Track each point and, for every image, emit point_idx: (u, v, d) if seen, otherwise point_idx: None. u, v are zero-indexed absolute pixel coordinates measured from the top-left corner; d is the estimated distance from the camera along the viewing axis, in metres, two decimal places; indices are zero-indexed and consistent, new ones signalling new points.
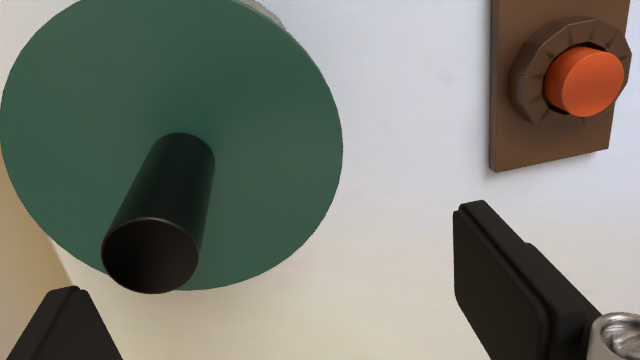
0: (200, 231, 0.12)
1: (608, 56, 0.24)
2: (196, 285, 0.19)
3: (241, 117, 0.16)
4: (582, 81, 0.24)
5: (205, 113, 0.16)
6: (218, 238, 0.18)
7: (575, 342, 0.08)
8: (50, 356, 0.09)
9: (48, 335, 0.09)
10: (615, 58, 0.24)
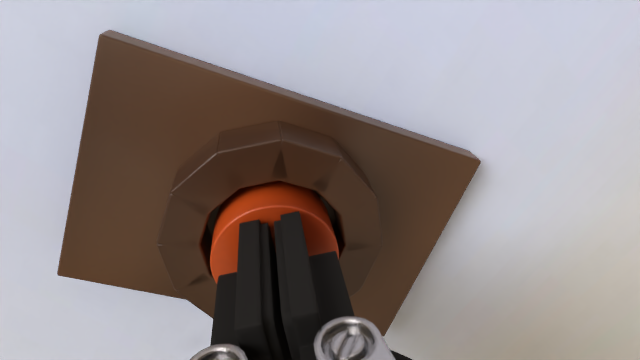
0: None
1: (231, 229, 0.12)
2: None
3: None
4: None
5: None
6: None
7: None
8: (270, 269, 0.10)
9: (260, 254, 0.10)
10: (242, 217, 0.12)
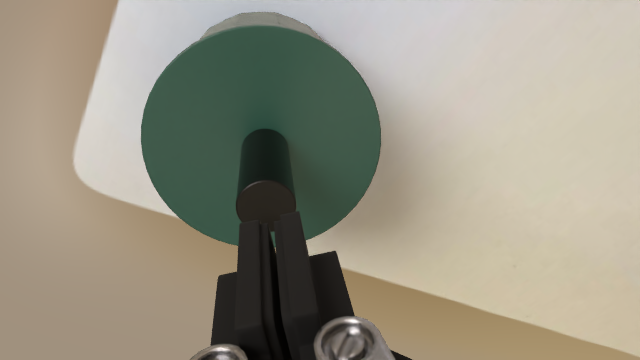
0: (276, 173, 0.18)
1: None
2: (355, 199, 0.25)
3: (258, 96, 0.22)
4: None
5: (242, 116, 0.22)
6: (331, 164, 0.24)
7: None
8: (270, 269, 0.10)
9: (260, 254, 0.10)
10: None
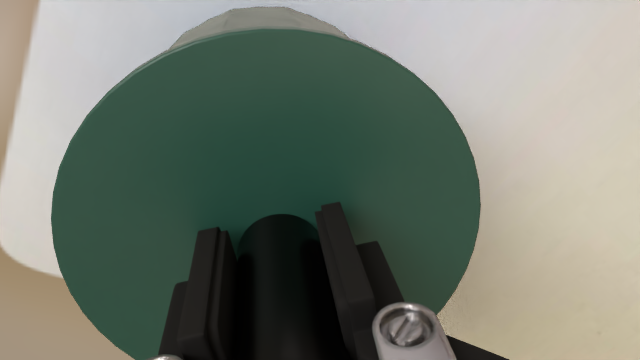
0: None
1: None
2: None
3: (266, 160, 0.12)
4: None
5: (238, 194, 0.12)
6: (394, 264, 0.14)
7: (371, 328, 0.09)
8: (223, 278, 0.10)
9: (214, 262, 0.10)
10: None
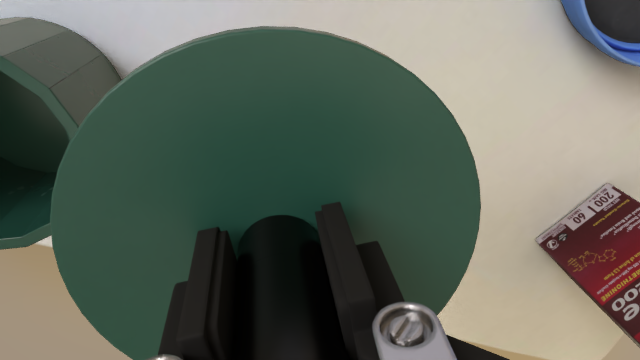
0: None
1: None
2: None
3: (266, 160, 0.12)
4: None
5: (238, 195, 0.12)
6: (394, 265, 0.14)
7: (371, 328, 0.09)
8: (223, 278, 0.10)
9: (214, 262, 0.10)
10: None
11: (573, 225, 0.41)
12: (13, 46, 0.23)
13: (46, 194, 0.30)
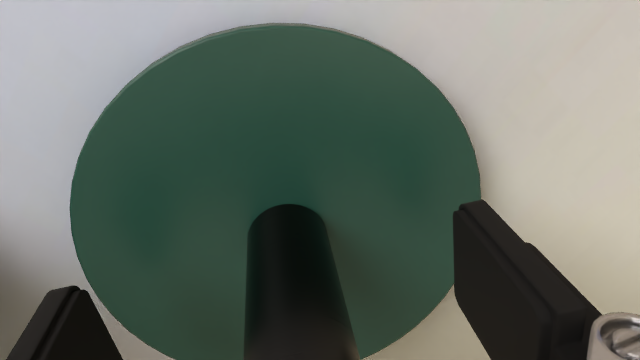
0: (327, 337, 0.08)
1: None
2: (431, 302, 0.15)
3: (275, 151, 0.12)
4: None
5: (248, 185, 0.13)
6: (397, 253, 0.14)
7: (575, 342, 0.08)
8: (50, 357, 0.09)
9: (48, 335, 0.09)
10: None
11: None
12: None
13: None
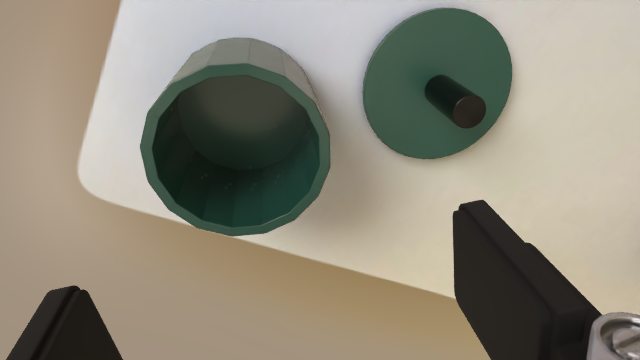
0: (473, 93, 0.31)
1: None
2: (490, 123, 0.38)
3: (440, 53, 0.34)
4: None
5: (428, 66, 0.35)
6: None
7: (575, 342, 0.08)
8: (50, 357, 0.09)
9: (48, 334, 0.09)
10: None
11: None
12: (278, 66, 0.27)
13: (255, 189, 0.34)
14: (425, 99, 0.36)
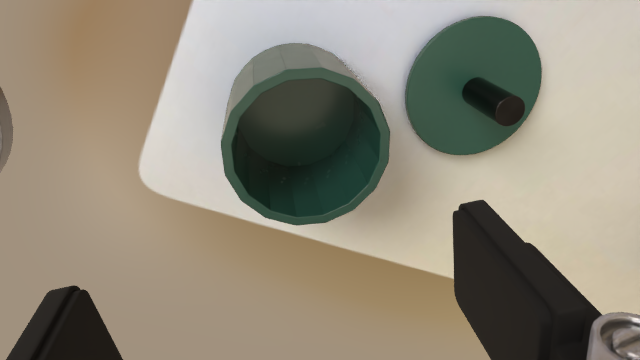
0: (513, 94, 0.34)
1: None
2: (520, 122, 0.41)
3: (477, 58, 0.38)
4: None
5: (466, 70, 0.38)
6: None
7: (575, 342, 0.08)
8: (50, 357, 0.09)
9: (48, 335, 0.09)
10: None
11: None
12: (343, 70, 0.30)
13: (308, 183, 0.37)
14: (462, 100, 0.39)
